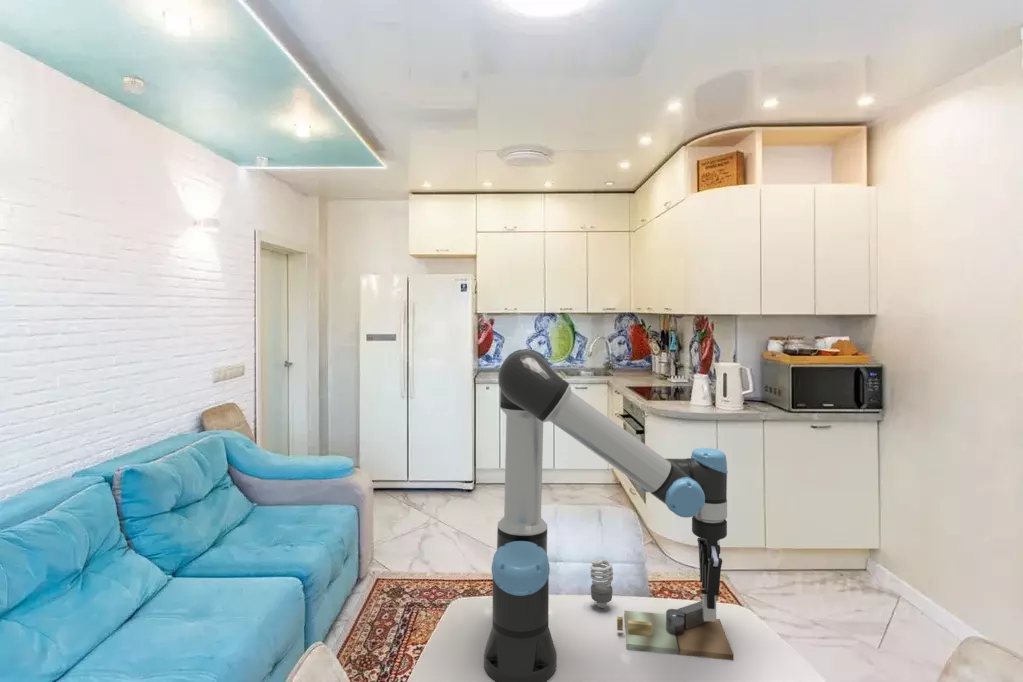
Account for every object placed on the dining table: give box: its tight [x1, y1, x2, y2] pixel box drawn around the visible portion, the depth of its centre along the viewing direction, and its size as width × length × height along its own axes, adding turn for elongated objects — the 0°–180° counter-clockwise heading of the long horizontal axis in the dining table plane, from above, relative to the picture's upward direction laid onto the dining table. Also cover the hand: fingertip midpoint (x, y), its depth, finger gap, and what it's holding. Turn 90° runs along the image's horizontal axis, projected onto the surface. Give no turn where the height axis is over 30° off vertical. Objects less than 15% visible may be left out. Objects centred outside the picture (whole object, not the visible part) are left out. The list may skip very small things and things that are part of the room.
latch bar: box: [665, 600, 709, 635], centre depth 124 cm, size 13×4×4 cm, turn 118°
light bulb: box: [589, 559, 614, 609], centre depth 134 cm, size 6×6×12 cm
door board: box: [616, 610, 735, 661], centre depth 122 cm, size 24×14×4 cm, turn 80°
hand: (709, 619), depth 123 cm, fingers closed
